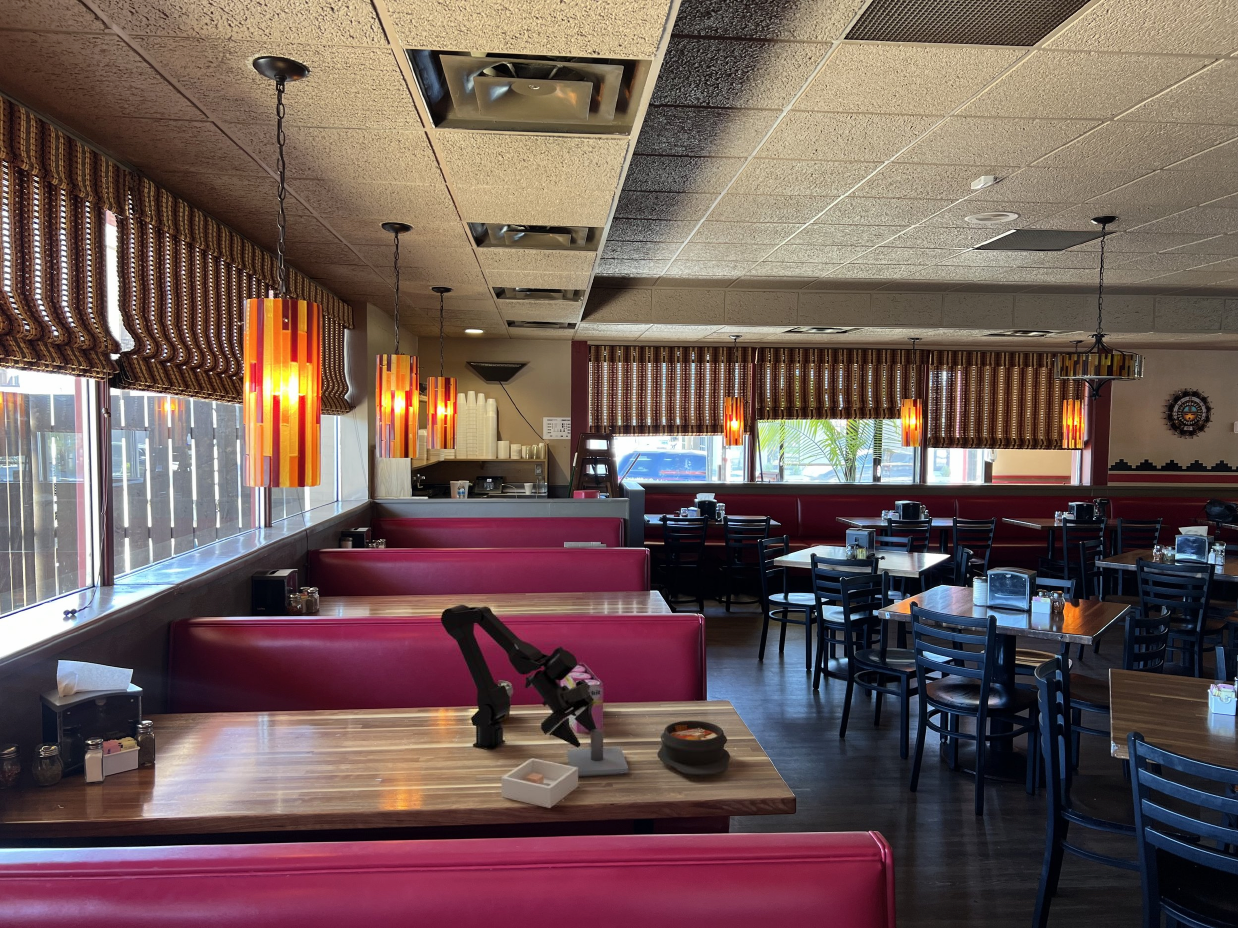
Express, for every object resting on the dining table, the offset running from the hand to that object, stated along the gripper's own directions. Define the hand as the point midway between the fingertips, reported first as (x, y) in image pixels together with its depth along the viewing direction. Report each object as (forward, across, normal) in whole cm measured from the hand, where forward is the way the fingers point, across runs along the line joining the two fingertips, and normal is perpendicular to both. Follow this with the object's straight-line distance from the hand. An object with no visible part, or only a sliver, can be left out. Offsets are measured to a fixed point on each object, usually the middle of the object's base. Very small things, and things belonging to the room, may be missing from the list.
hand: (588, 740), depth 213 cm
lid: (+6, 0, +3) cm, 7 cm away
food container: (-22, +18, +32) cm, 43 cm away
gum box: (-8, +29, +18) cm, 35 cm away
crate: (+3, -19, +6) cm, 20 cm away
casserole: (+21, +14, -12) cm, 28 cm away
